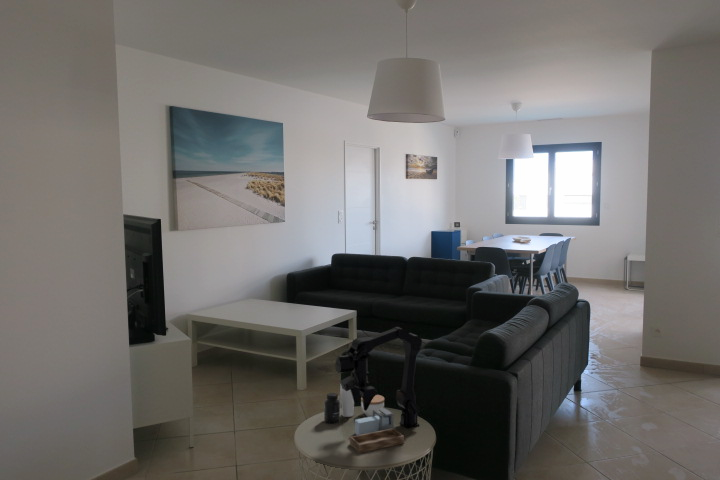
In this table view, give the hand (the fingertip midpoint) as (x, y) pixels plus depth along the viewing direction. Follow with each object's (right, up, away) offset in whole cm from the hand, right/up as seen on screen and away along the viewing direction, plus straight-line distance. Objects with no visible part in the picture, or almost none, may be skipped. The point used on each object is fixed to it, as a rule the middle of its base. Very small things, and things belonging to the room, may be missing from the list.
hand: (360, 406), depth 225 cm
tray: (+7, -12, -8) cm, 16 cm away
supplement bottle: (-13, -11, +15) cm, 22 cm away
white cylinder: (-6, -11, +21) cm, 24 cm away
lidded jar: (+5, -11, +22) cm, 25 cm away
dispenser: (+10, -12, +6) cm, 16 cm away
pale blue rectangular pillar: (+5, -12, +3) cm, 13 cm away
